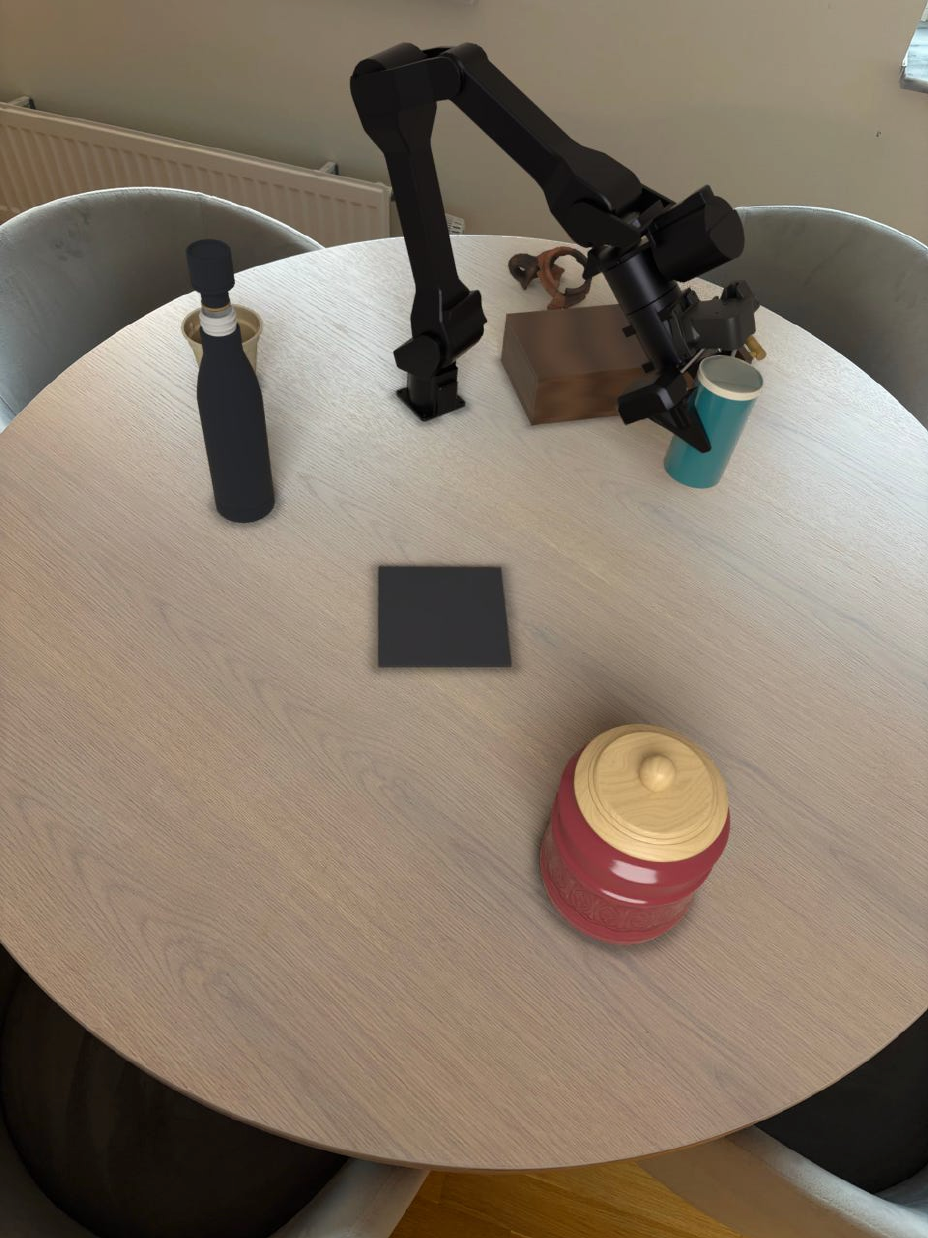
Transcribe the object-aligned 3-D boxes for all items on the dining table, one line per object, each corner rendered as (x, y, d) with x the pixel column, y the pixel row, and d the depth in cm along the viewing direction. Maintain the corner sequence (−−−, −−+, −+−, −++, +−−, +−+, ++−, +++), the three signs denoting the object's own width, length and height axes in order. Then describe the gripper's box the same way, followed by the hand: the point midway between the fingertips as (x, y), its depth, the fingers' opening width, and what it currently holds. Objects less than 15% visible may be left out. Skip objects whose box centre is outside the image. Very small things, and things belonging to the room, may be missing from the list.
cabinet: (616, 349, 129) (627, 302, 124) (654, 411, 121) (667, 364, 116) (500, 360, 126) (506, 313, 120) (531, 425, 117) (538, 377, 112)
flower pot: (183, 371, 119) (172, 310, 113) (256, 356, 122) (249, 296, 116) (203, 415, 114) (192, 354, 108) (278, 399, 117) (273, 338, 111)
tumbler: (667, 443, 104) (703, 348, 95) (724, 460, 104) (766, 366, 95) (658, 477, 100) (695, 381, 91) (718, 496, 99) (761, 401, 90)
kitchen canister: (675, 804, 85) (732, 689, 71) (704, 949, 76) (775, 849, 63) (531, 804, 84) (561, 687, 70) (544, 950, 75) (580, 849, 62)
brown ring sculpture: (576, 279, 141) (601, 248, 133) (571, 335, 139) (595, 307, 131) (501, 256, 138) (521, 222, 130) (494, 313, 135) (514, 283, 128)
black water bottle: (263, 528, 103) (230, 274, 80) (207, 517, 103) (157, 261, 80) (282, 489, 107) (256, 237, 84) (228, 479, 107) (187, 225, 84)
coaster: (378, 569, 100) (378, 566, 100) (500, 569, 101) (500, 567, 101) (378, 667, 92) (378, 665, 92) (511, 667, 93) (511, 664, 93)
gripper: (674, 309, 81) (753, 463, 86) (760, 227, 91) (825, 368, 96) (579, 352, 89) (656, 489, 94) (668, 272, 100) (732, 400, 105)
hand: (721, 434), depth 97 cm, fingers closed on tumbler, 6 cm apart
